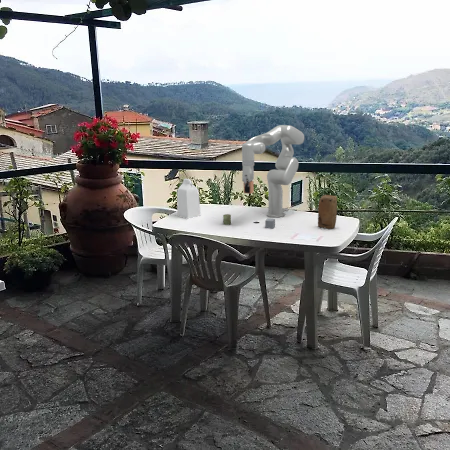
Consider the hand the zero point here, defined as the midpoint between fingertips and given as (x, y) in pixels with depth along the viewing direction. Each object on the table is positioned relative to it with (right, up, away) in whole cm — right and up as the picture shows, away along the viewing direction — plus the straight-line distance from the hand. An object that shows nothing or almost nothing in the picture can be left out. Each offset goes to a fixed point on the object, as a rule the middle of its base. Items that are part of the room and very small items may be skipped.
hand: (248, 191), depth 287 cm
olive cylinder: (-14, -21, +7) cm, 26 cm away
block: (+48, -23, -7) cm, 54 cm away
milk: (-40, -15, +30) cm, 53 cm away
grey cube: (+13, -23, -3) cm, 27 cm away
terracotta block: (0, -1, 0) cm, 1 cm away
